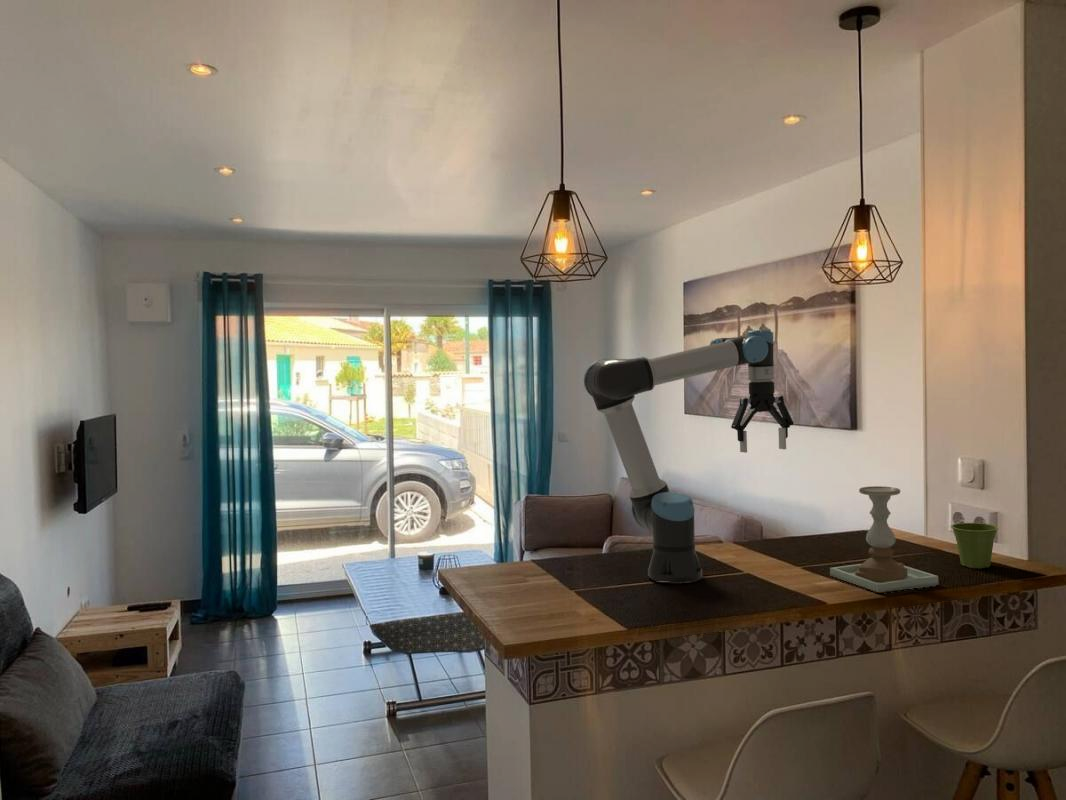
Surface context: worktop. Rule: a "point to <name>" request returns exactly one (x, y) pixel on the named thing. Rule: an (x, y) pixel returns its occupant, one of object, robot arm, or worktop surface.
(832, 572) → the tray
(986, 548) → the plant pot
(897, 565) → the candle holder
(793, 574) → the worktop surface
